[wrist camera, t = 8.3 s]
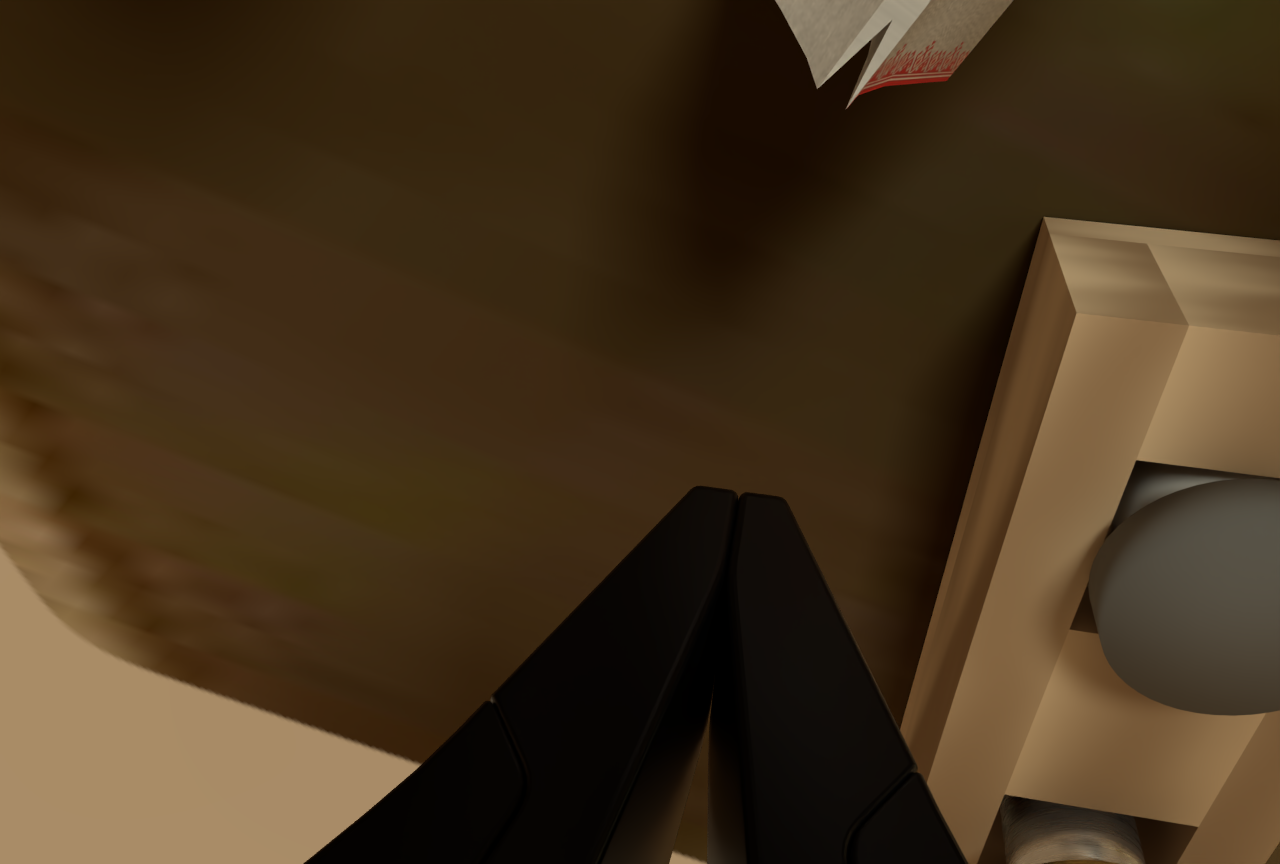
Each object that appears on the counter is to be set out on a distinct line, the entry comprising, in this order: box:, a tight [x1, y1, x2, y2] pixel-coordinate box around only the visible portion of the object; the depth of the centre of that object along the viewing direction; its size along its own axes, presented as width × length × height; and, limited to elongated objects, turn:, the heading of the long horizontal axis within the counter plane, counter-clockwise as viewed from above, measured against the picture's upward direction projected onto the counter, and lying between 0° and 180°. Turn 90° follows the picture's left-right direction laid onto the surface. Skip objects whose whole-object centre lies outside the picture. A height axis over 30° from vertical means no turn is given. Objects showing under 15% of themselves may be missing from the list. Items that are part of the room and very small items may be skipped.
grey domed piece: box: [1088, 460, 1280, 716], centre depth 20 cm, size 5×5×4 cm
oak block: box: [900, 217, 1280, 864], centre depth 24 cm, size 8×20×4 cm, turn 178°
